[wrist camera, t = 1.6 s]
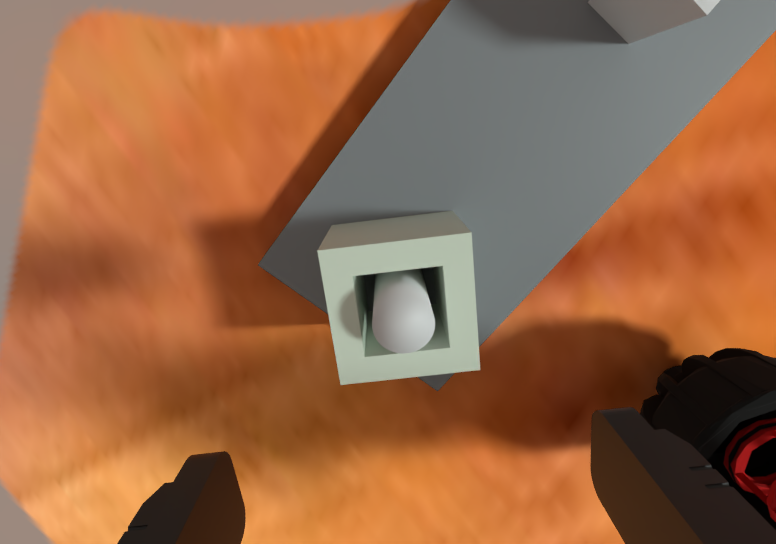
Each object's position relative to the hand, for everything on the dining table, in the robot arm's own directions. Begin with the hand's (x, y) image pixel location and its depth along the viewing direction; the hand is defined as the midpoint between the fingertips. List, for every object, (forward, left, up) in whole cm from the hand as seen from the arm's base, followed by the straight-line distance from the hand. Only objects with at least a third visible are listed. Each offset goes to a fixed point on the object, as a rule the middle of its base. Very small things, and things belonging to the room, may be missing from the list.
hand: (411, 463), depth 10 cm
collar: (0, 0, -14) cm, 14 cm away
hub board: (+6, -5, -15) cm, 17 cm away
